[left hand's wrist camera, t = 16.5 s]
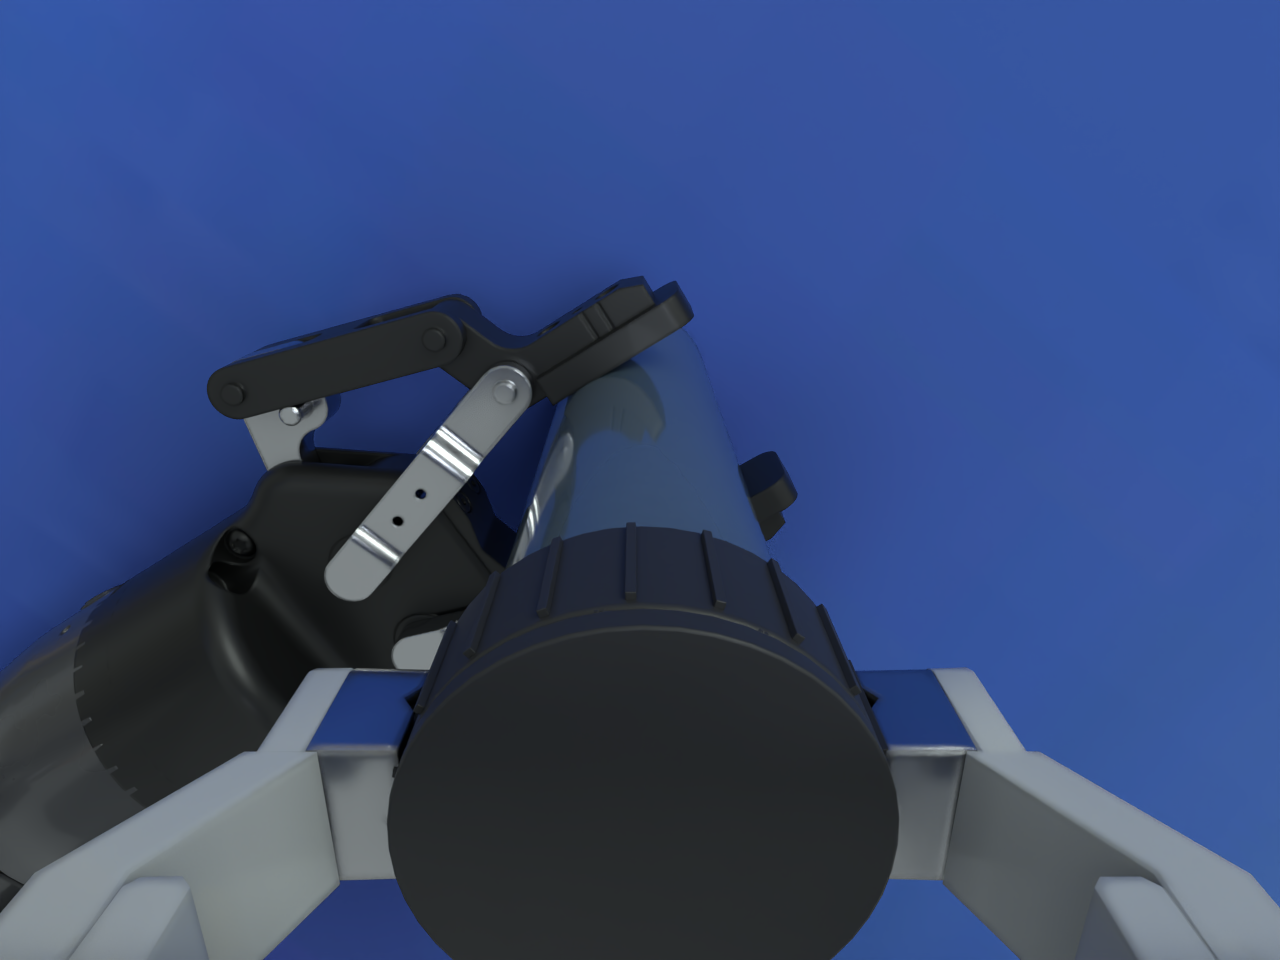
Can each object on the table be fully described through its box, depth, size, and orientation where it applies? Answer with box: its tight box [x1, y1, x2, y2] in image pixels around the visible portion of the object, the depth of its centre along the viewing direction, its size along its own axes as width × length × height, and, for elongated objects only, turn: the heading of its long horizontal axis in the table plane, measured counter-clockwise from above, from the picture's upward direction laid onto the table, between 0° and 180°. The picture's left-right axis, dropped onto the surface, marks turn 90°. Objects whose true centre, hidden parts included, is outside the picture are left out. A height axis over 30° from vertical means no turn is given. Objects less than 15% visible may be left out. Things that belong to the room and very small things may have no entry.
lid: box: [387, 522, 899, 960], centre depth 9 cm, size 5×5×2 cm
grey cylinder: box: [505, 328, 771, 570], centre depth 18 cm, size 4×4×18 cm
